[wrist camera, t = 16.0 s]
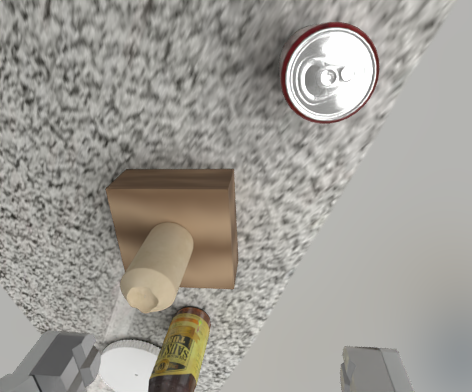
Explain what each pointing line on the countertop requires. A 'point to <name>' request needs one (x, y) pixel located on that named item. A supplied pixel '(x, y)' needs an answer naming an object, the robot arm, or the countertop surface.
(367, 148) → the countertop surface
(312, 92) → the soda can
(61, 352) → the robot arm
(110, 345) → the plastic lid
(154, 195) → the walnut stand
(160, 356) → the sauce bottle
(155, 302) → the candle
